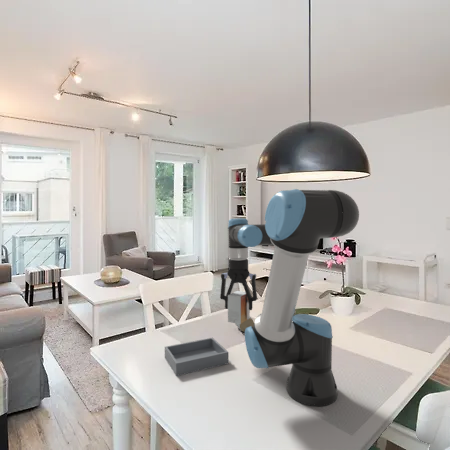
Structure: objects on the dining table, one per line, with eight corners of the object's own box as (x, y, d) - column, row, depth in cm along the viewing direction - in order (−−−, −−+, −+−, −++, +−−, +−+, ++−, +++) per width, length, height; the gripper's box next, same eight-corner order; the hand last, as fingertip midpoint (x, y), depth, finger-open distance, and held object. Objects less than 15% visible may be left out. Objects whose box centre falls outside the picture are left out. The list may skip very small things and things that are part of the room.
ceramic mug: (239, 334, 146) (240, 317, 146) (233, 327, 154) (234, 311, 154) (261, 331, 150) (261, 315, 149) (254, 325, 157) (254, 309, 157)
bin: (228, 363, 119) (228, 352, 119) (176, 375, 111) (176, 363, 110) (212, 347, 132) (212, 337, 132) (164, 357, 124) (164, 346, 124)
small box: (240, 324, 121) (240, 296, 121) (227, 322, 124) (227, 294, 123) (249, 318, 128) (249, 291, 128) (237, 316, 131) (236, 290, 130)
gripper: (264, 257, 127) (265, 315, 128) (215, 256, 130) (216, 313, 132) (263, 260, 119) (263, 322, 120) (211, 259, 123) (211, 319, 124)
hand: (238, 317), depth 126 cm, fingers closed on small box, 7 cm apart
